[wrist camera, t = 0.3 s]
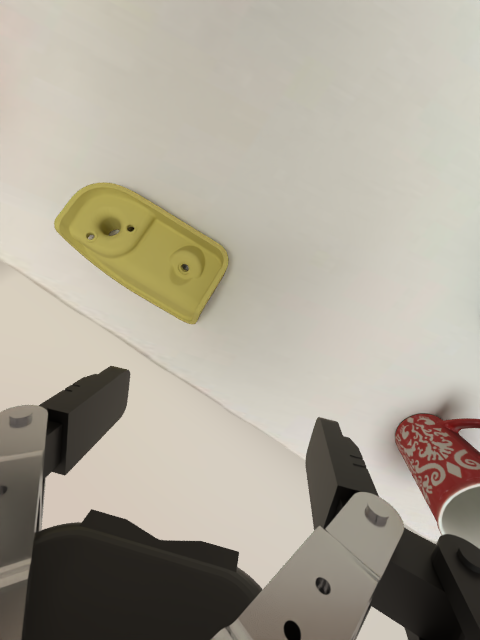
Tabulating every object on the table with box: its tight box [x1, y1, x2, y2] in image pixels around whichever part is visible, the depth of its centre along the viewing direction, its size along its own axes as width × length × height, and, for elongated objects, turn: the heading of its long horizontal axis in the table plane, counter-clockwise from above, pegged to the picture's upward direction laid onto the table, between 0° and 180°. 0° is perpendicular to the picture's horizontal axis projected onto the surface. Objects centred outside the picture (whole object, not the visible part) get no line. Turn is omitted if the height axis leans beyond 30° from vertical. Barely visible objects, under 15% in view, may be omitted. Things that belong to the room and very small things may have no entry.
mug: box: [395, 414, 480, 549], centre depth 34 cm, size 13×9×14 cm
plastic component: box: [54, 183, 228, 324], centre depth 38 cm, size 20×7×10 cm
